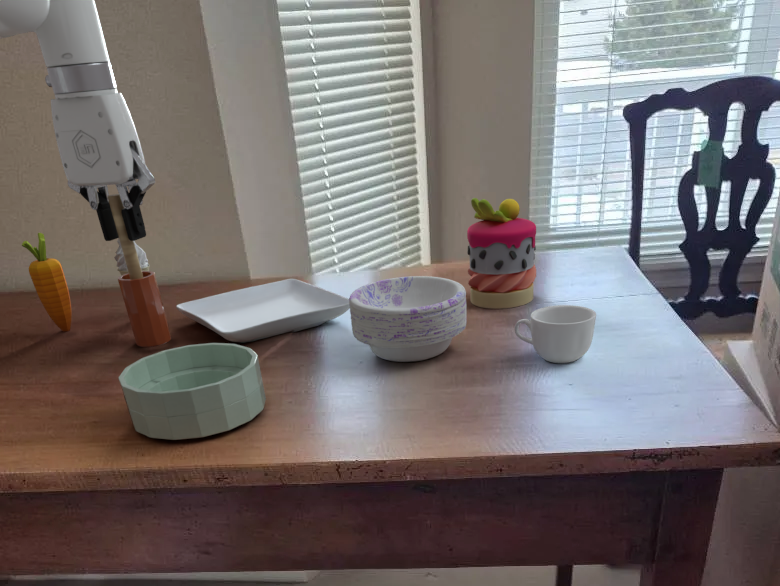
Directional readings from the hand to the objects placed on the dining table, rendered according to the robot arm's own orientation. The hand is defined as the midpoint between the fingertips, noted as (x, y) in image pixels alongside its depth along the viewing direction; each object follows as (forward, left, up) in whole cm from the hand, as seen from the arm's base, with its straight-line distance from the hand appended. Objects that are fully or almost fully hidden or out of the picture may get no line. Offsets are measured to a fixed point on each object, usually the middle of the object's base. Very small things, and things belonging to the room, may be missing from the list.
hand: (125, 237), depth 101 cm
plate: (+13, +11, -15) cm, 23 cm away
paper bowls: (+40, +2, -15) cm, 43 cm away
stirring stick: (0, 0, -15) cm, 15 cm away
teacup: (+59, +2, -15) cm, 61 cm away
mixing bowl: (+22, -22, -15) cm, 35 cm away
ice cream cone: (-10, +12, -15) cm, 22 cm away
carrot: (-19, +3, -15) cm, 25 cm away
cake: (+47, +26, -15) cm, 56 cm away
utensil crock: (0, 0, -15) cm, 15 cm away
